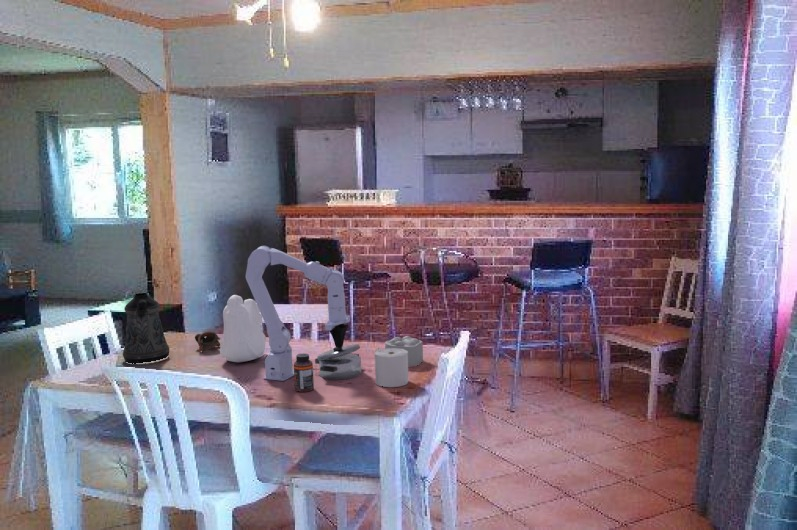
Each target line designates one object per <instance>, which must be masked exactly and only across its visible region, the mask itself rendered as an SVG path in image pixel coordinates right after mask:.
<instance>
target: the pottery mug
mask: <svg viewBox="0 0 797 530" xmlns="http://www.w3.org/2000/svg"><path fill="white" fill-rule="evenodd" d="M194 340H195V341H196V343H197V344H198V346H199V347H198V351H202V353H203V352H205V351H208V350H212V349H213V348H215V347H217V346H220V347H221V343H220V342H219V340H221V337H219V336H218V334H217V333H216V332H214V331H204V332H202V333H197V334H195V336H194Z"/></svg>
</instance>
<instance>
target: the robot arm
mask: <svg viewBox="0 0 797 530" xmlns="http://www.w3.org/2000/svg"><path fill="white" fill-rule="evenodd" d="M269 265H270V266H274V265H282V266H283V265H284V266H286V267H289V268H292V269H295V270H297V271H299V272H302V273H303V275H304V276H305V278H306V279H308V280H312V281H314V282H316V283H319V284H321V285H325V286H326V287H327V307H328V309H327V311H328V321H327V322H326V323H325V324H324V331H328V332H329V333H330V335H331V337H332V341H333V342H334V343H333V344H334V347H343V346H344V340H345V337H346V334H347V331H348V328H349V325H348V323H350V322H351V315H347V312H346V295H345V294H346V293H345V287H344V281H345V277H344V275H343V273H342V272H341V271H339V269H334V268H333V267H331V266H330V267H327V266H324V265H323V264H321V263H320V261H317V260H316V261H309V262H305V261H303V260H301V259H298V258H297V257H295V256H293V255H290V254H289V253H286V252H284V251H281V250H279V249H276V248H273V247H269V246H267V245H261V246H258V247H257V248H256V249H255V250H254V249H253V251H252V252H251V253H250V255H249V256H248V259H247V265H246V271H245V280H246V282H247V284H248V287H249V289H250V291H251V295H252V296H253V300H254V301H255V302H256V304H257V306H258V308H259V310H260V314H261V315H262V321H264V324H265V325H266V327H265V328H266V333H267V336H268V345H269V354H268V355H267V356H266V357H265V360H264V369H265V370H264V371H265V376H264V377H263V379H264V380H271V381H282V382H283V381H287V380H288V379H290V378H292V377H294V364H293V347H292V346H291V344H290V342H291V340H292V333H291V332H290V330H289V329H288V328H287V327H286V326H285V323H284V322H283V321H282V320H281V319H280V317H279V316H280V315H279V313H278V312H277V309H276V307H275V304H274V303H273V300H272V298H271V295H270V293H269V291H268V288H267V286H266V283H265V282H264V279H263V275H264V273H265V270H266V269H267V267H268V266H269Z"/></svg>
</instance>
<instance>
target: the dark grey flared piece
mask: <svg viewBox="0 0 797 530" xmlns="http://www.w3.org/2000/svg"><path fill="white" fill-rule="evenodd" d="M160 306H161V305H160V303H159V302H158V301H157V300H155V299H153V298H152V297H151V296H150V295H148V293H146V292H140V293H136V294H134V296H133V298H132V299H131V300H129V302H128V303H126V305H125V306H124V308H123V309H124V312H125V313H126V327H125V342H124V348H123V350H122V351H123V352H122V356H123V360H124V362H128V363H132V364H133V363H134V364H136V363H143V362H151V361H156V360H160V359H163V358H166V357H167V356H168V355H169V356H170V347H169V344H168V343H167V339H166V337H165V333H164V330H163V325H162V322H161V318H160V314H159V313H160V312H159V310H160Z"/></svg>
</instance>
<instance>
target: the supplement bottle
mask: <svg viewBox="0 0 797 530" xmlns="http://www.w3.org/2000/svg"><path fill="white" fill-rule="evenodd" d="M295 357H296V358H295V360H296V361H294V363H293V371H294V376H293V379H294V390H295V391H296V392H298V391H299V392H298V393H307V391H308V392H311V391H312V390H314V387H315V385H314V384H315V383H314V381H315V380H314V364H313V363H314V362H313V361H311V360H310V354H308V353H299V354H296V356H295Z"/></svg>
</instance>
